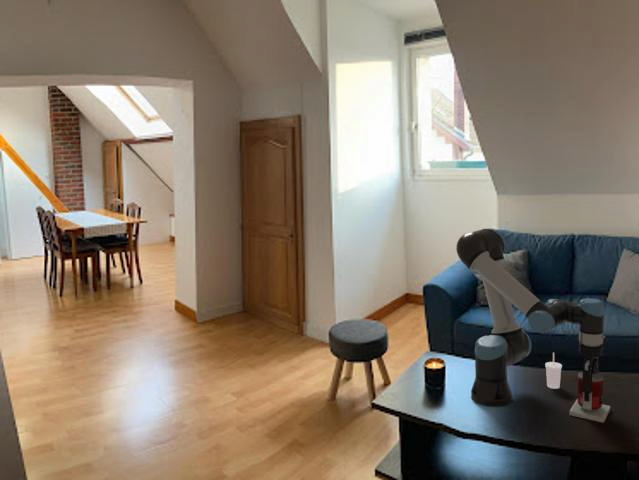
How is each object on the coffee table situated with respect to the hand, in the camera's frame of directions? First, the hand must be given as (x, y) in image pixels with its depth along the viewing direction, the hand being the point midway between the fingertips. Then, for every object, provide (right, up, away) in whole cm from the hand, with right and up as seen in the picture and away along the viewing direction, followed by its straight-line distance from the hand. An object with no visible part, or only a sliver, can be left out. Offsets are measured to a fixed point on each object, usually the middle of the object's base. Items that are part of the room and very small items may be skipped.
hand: (589, 404), depth 193 cm
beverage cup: (-3, 0, +23) cm, 23 cm away
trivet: (0, -3, 0) cm, 3 cm away
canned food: (0, 0, 0) cm, 0 cm away
